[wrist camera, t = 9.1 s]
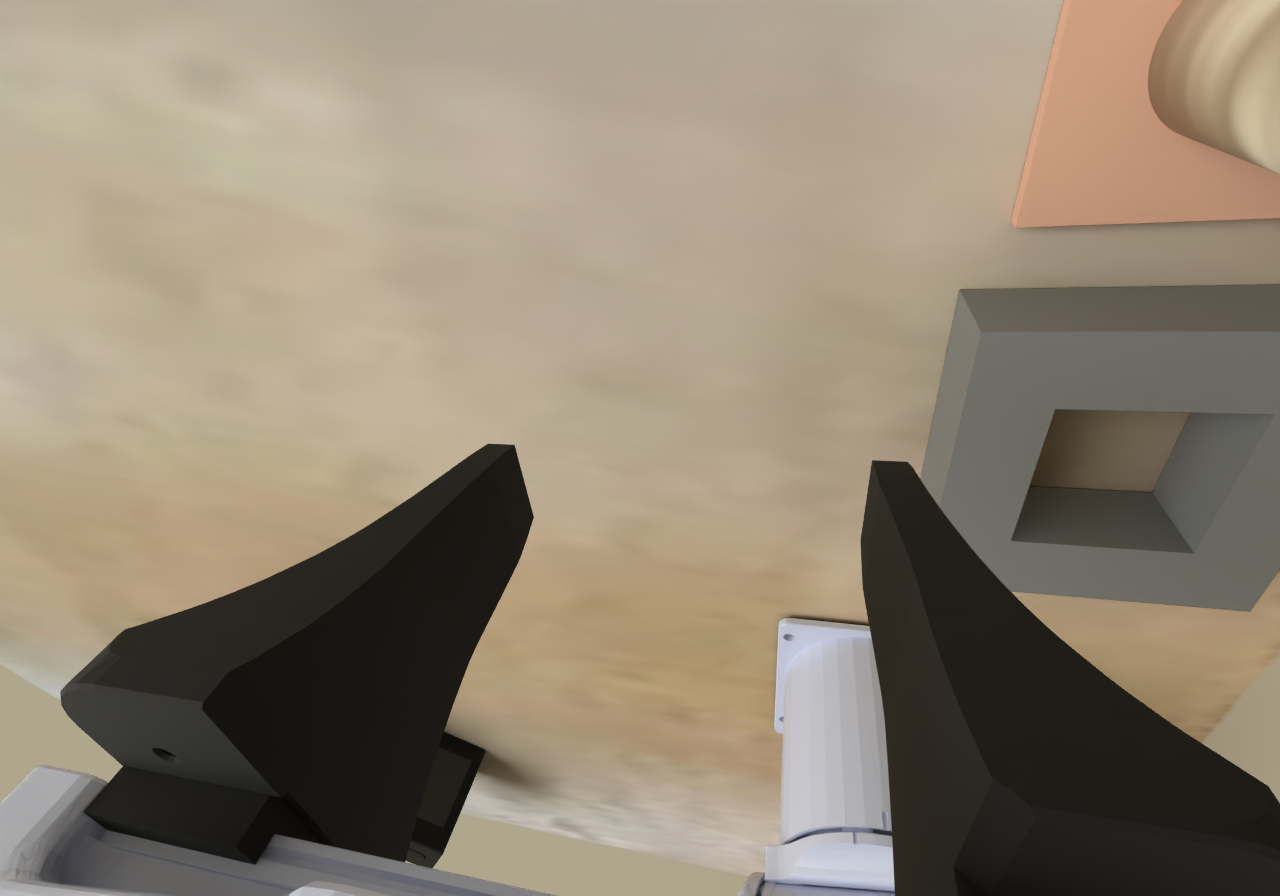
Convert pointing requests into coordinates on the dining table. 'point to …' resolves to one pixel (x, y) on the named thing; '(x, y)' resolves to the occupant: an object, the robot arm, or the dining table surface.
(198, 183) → the dining table surface
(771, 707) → the dining table surface
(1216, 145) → the peg
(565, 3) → the dining table surface
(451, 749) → the digital camera
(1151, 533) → the pocket block
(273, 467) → the dining table surface
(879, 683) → the robot arm
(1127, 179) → the pad
